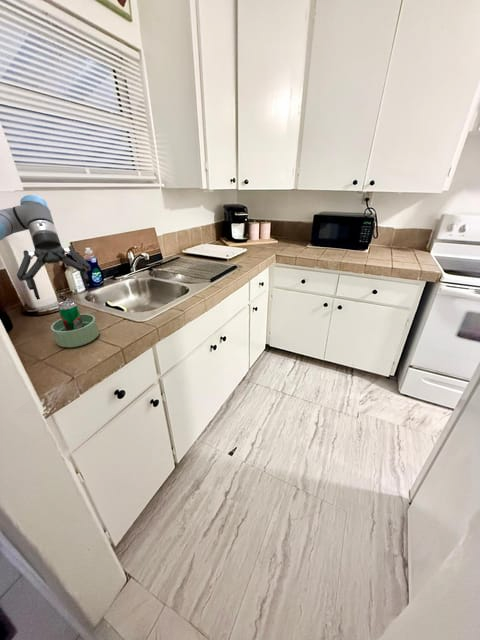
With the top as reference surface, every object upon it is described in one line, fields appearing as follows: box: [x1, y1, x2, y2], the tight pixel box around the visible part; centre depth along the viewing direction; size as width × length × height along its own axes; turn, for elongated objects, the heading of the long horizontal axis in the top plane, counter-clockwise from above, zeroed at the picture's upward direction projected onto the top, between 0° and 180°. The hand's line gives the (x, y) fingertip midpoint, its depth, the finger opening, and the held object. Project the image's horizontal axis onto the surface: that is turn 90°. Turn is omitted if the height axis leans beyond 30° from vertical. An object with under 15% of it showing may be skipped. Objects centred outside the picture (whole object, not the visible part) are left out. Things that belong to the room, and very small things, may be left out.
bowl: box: [50, 313, 100, 348], centre depth 84 cm, size 12×12×6 cm
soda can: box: [57, 300, 84, 331], centre depth 82 cm, size 5×5×12 cm
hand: (63, 293), depth 84 cm, fingers open, 13 cm apart
